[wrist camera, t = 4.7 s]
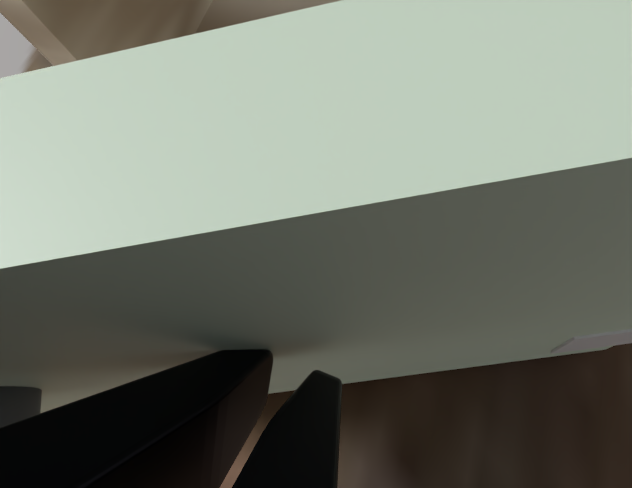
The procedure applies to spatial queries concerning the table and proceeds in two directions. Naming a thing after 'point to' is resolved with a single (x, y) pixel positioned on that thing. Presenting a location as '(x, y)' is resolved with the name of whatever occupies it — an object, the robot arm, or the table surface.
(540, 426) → the table surface
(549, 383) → the table surface
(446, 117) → the door
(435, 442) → the table surface
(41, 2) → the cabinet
